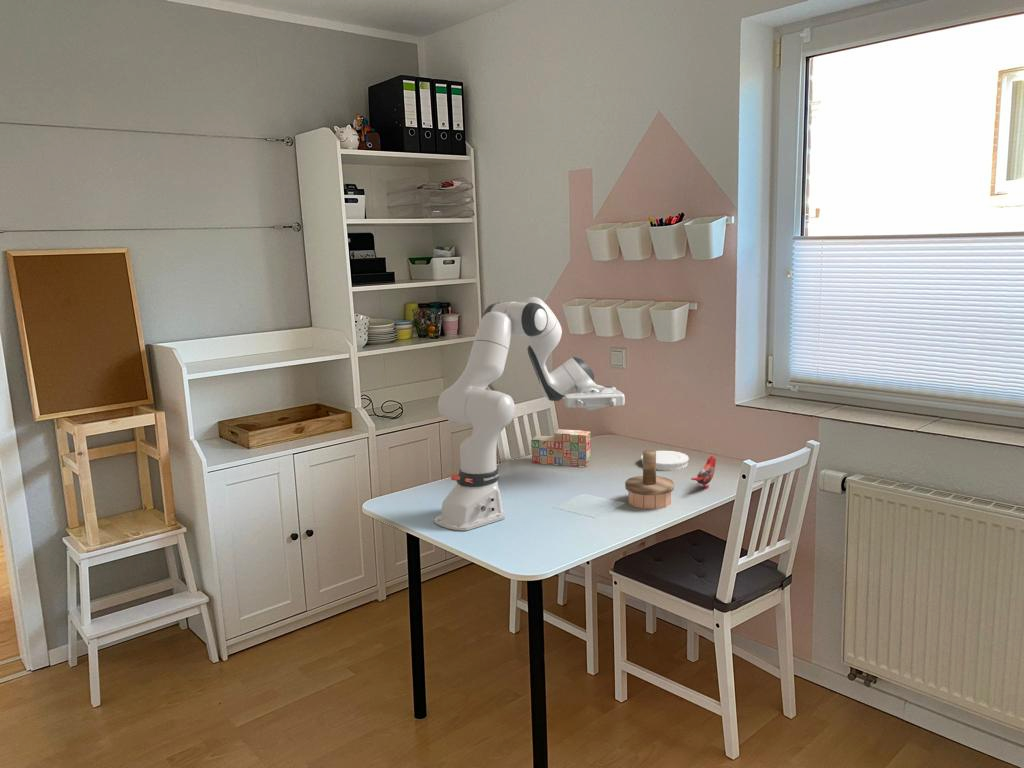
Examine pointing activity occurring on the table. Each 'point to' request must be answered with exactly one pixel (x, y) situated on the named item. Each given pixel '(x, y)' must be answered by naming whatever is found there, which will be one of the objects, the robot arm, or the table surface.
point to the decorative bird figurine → (706, 472)
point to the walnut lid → (649, 478)
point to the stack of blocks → (563, 448)
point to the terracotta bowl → (649, 500)
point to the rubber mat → (589, 505)
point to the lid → (670, 460)
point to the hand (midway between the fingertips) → (598, 404)
